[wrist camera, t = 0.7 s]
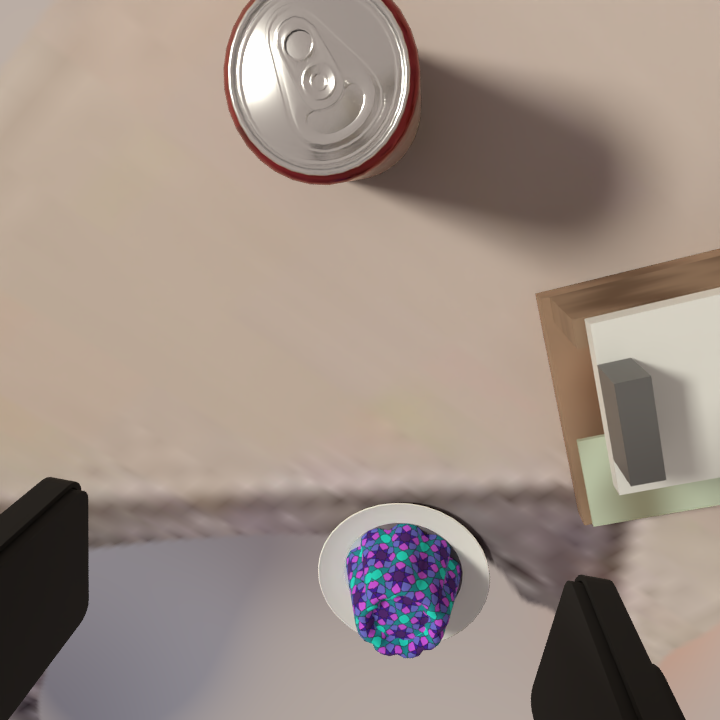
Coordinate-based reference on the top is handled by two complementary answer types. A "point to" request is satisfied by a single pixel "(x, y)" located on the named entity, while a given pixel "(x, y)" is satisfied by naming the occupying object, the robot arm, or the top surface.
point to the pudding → (403, 577)
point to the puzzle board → (579, 392)
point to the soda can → (324, 86)
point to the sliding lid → (659, 390)
